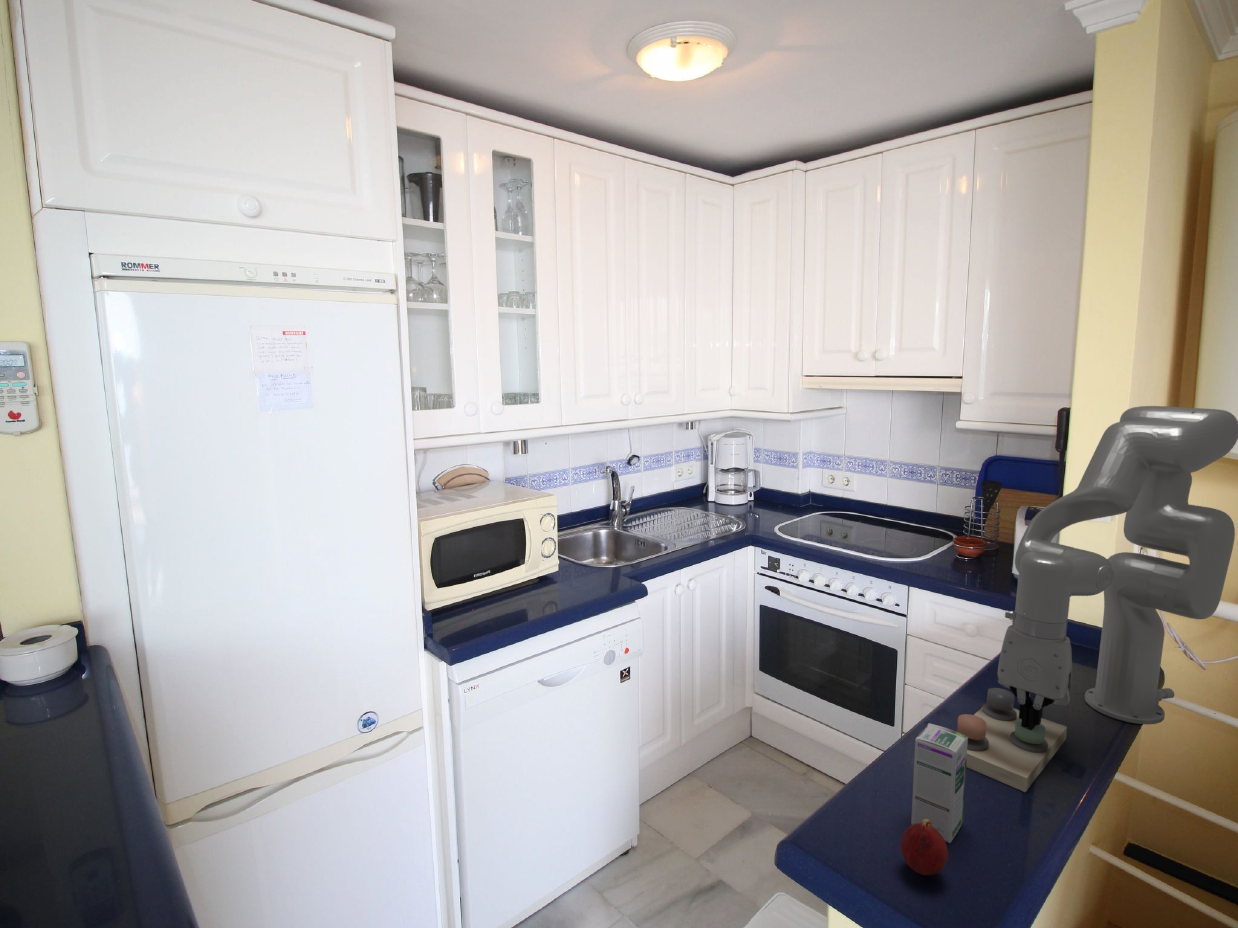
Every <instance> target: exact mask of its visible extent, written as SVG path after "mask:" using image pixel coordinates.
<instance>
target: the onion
mask: <svg viewBox="0 0 1238 928" xmlns="http://www.w3.org/2000/svg"><path fill="white" fill-rule="evenodd" d="M931 825H932V822H931V821H930V820H929V819H923V821H922V822H921V823H916V824H913V825H911V824H910V825H909V826H908V827H907V828H905V830H904V831H903V834H902V836H901V840H900V849H901V850H900V851H901V855H902V857H903V858H904V861H905V862H906V864H907V866H908V867H909V868H911V870H913V871H914V872H915V873H918V874H920V875H922V876H931V875H932V876H933V875H937V874H939V872H942V871H943V869H944V868H945V867H946V865H947V862H948V859H949V850H948V847H947V844H946V843H947V842H946V841H945V840H944V838H943V837H942V835H941V834H940V833H939V832H938V831H937V830H936V829H935V828H934V827H932V826H931Z"/></svg>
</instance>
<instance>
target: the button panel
mask: <svg viewBox="0 0 1238 928" xmlns="http://www.w3.org/2000/svg"><path fill="white" fill-rule="evenodd" d="M1019 710H1020V709H1017V708H1013V709H1012V710H1008V711H1005V710H999V709H996V708H993V707H991V706H990V705H989V704H988V703H987V702H984V703H983V704H982V707H981V708H980V709H979V710H978V711H976V712H975V713H974V714H973V715H974V716H977V717H980V718H982V719H983V720H984V721H985V722H986V724H987V725H986V736H985V738H984V739H981V740H974V739H969V738H968V744H967V761H966V769H967V768H968V769H970V770H973V771H975V772H976V773H979V774H982V775H983V776H987V777H989V778H991V779H994V780H995V781H998V782H1001V783H1003V784H1005V785H1008V786H1009V787H1012V788H1015V789H1016V790H1019V791H1022V792H1024V793H1026V792H1028V790H1029V788H1031V786H1032V785H1033V783H1034V782H1036V779H1037V778H1038V777H1039V776H1040V774H1041V772H1042V771H1043V770H1044V769H1045V768H1046V766H1047V765H1048V763H1050V761H1051V760H1052V758H1053V757H1054V756H1055V754H1056V753H1057V752H1058V750H1059V749H1060V748H1061V747H1062V746H1063V744H1064V743H1065V741H1066V740H1067V731H1068V727H1067V726H1066V725H1063V724H1061V723H1057V722H1055V721H1052V720H1049V719H1046V718H1043V717H1041V724H1042V725H1044V727H1045V738H1044V742H1043V743H1041V744H1032V743H1028V742H1025V741H1022V740H1021V739H1019V738H1018V737H1016V735H1015V723H1016V720H1017V719H1019ZM955 731H956V732H958V731H957V729H956V730H955ZM958 733H959V732H958Z"/></svg>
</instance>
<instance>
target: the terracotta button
mask: <svg viewBox="0 0 1238 928" xmlns="http://www.w3.org/2000/svg"><path fill="white" fill-rule="evenodd" d="M956 725H957V728H956V730H957V731H958V732H959V733H961V734H963V735H965V736H967V737H968V738H969V739H974V740H981V739H984V738H985V736H986V725H987V724H986V722H985V721H984V720H983V719H982V718H980V717H977V716H974V714H969V713H968V714H967V713H963V714H960V715H959V716H957V724H956Z"/></svg>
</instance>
